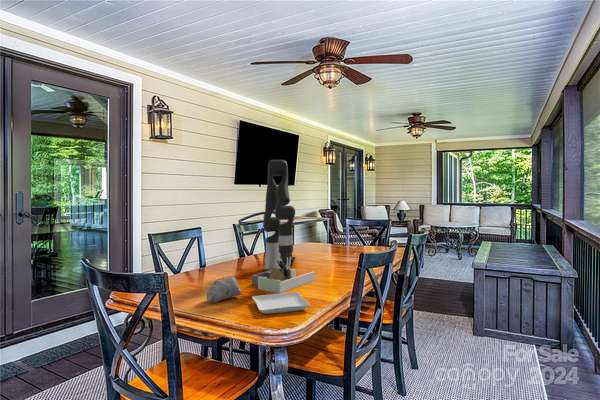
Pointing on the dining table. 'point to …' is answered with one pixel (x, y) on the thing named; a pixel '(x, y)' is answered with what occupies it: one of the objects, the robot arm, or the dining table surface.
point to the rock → (277, 274)
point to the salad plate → (280, 302)
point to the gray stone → (223, 289)
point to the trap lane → (278, 285)
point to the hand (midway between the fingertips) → (286, 276)
